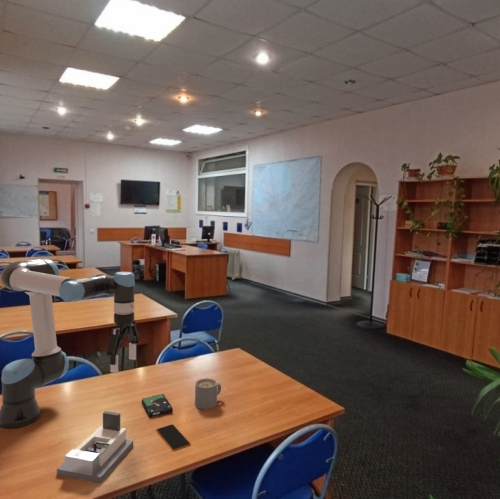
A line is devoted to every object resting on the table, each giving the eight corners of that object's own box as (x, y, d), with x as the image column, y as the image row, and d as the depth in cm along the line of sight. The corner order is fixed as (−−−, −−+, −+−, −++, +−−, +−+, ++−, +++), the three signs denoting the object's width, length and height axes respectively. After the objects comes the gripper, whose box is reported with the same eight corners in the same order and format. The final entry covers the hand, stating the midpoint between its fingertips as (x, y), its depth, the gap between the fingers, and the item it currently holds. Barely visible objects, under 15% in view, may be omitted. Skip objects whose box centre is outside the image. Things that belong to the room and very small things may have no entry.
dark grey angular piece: (85, 455, 136) (85, 441, 136) (88, 452, 138) (88, 438, 137) (107, 459, 135) (107, 445, 134) (110, 456, 136) (110, 442, 136)
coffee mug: (201, 411, 173) (201, 389, 172) (191, 402, 182) (191, 381, 181) (227, 404, 181) (227, 383, 180) (216, 395, 189) (217, 375, 188)
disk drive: (173, 414, 172) (163, 398, 184) (173, 407, 171) (163, 393, 184) (149, 419, 167) (141, 403, 179) (149, 413, 166) (141, 397, 179)
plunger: (94, 447, 141) (94, 420, 140) (105, 436, 148) (105, 410, 147) (109, 449, 140) (109, 423, 139) (120, 438, 147) (120, 413, 146)
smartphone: (173, 452, 144) (173, 450, 144) (155, 431, 158) (155, 429, 157) (191, 445, 148) (191, 443, 148) (173, 425, 162) (173, 423, 162)
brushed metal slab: (64, 470, 129) (64, 456, 128) (72, 462, 133) (72, 448, 132) (92, 475, 127) (92, 461, 126) (99, 467, 130) (99, 453, 130)
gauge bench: (56, 474, 129) (56, 456, 129) (94, 439, 150) (94, 423, 149) (100, 483, 126) (100, 464, 126) (133, 445, 147) (133, 429, 146)
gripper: (115, 321, 139) (115, 379, 141) (148, 305, 163) (147, 355, 165) (96, 319, 140) (96, 377, 143) (131, 304, 165) (131, 353, 167)
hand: (123, 365), depth 154 cm, fingers open, 13 cm apart
